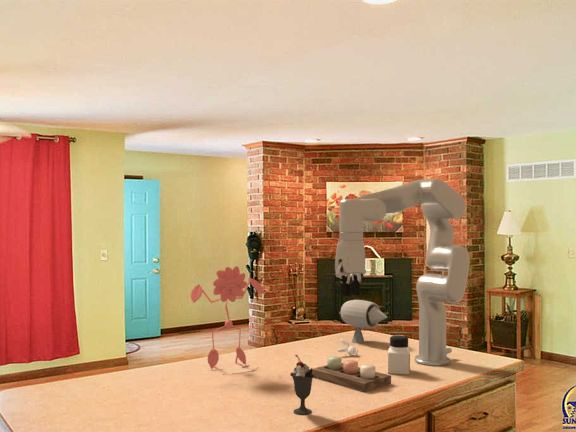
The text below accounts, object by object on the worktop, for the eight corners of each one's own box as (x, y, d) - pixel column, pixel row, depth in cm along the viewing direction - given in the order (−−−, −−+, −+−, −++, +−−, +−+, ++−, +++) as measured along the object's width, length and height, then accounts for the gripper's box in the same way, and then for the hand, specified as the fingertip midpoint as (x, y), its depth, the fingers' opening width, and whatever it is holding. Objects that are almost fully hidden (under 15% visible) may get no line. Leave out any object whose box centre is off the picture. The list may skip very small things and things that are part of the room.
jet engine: (355, 349, 226) (355, 304, 226) (336, 338, 245) (336, 297, 245) (389, 347, 230) (389, 303, 230) (368, 336, 250) (368, 296, 250)
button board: (338, 369, 196) (338, 362, 196) (391, 383, 179) (391, 375, 179) (311, 376, 187) (311, 368, 187) (364, 392, 171) (364, 383, 171)
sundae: (288, 408, 156) (289, 352, 156) (313, 407, 157) (313, 352, 157) (291, 416, 150) (291, 358, 150) (316, 415, 150) (316, 358, 150)
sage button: (334, 366, 191) (334, 355, 191) (344, 368, 188) (344, 358, 188) (324, 368, 188) (324, 357, 188) (334, 371, 185) (334, 360, 185)
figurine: (186, 366, 198) (188, 265, 198) (256, 359, 209) (257, 263, 208) (199, 379, 184) (201, 270, 184) (273, 370, 195) (275, 268, 195)
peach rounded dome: (349, 370, 186) (350, 359, 186) (360, 373, 183) (360, 362, 183) (340, 372, 183) (340, 361, 183) (351, 375, 180) (351, 364, 180)
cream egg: (366, 374, 181) (366, 363, 181) (378, 377, 178) (378, 366, 178) (357, 377, 178) (357, 366, 178) (368, 380, 175) (368, 369, 175)
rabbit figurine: (357, 357, 212) (337, 347, 213) (353, 363, 215) (334, 353, 216) (361, 346, 217) (342, 336, 218) (357, 352, 219) (338, 342, 220)
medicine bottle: (409, 375, 189) (410, 338, 189) (387, 373, 191) (388, 337, 191) (409, 369, 196) (409, 334, 196) (388, 368, 198) (388, 333, 198)
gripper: (359, 236, 191) (358, 291, 191) (324, 237, 180) (324, 296, 180) (376, 237, 186) (376, 294, 186) (342, 238, 175) (342, 299, 175)
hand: (351, 294), depth 183 cm, fingers open, 3 cm apart
